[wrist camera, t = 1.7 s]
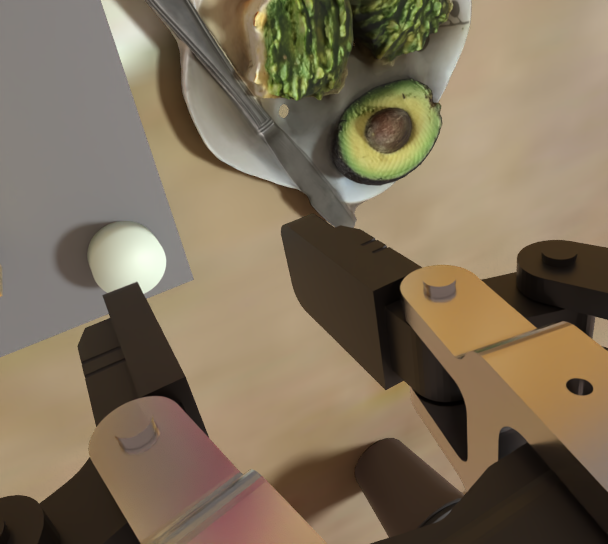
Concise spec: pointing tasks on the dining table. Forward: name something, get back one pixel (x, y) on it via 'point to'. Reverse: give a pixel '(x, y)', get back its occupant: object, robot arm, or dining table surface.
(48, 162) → the base
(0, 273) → the tan elongated block
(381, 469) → the coffee cup
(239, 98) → the salad plate
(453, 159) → the dining table surface
